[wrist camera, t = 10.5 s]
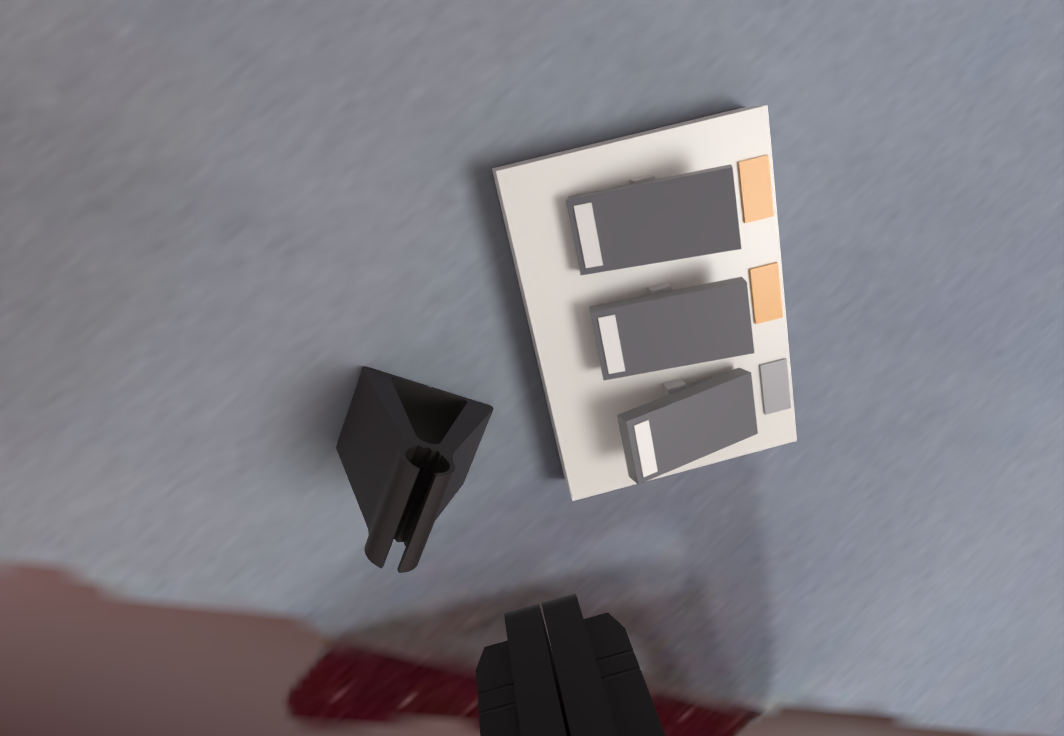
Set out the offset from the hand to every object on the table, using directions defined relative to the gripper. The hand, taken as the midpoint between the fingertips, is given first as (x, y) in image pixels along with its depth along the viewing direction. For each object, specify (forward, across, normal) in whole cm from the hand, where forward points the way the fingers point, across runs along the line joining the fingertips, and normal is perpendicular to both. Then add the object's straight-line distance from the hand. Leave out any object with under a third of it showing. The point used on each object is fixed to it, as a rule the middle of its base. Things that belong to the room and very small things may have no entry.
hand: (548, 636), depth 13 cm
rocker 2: (+26, -11, +4) cm, 29 cm away
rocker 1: (+26, -11, -2) cm, 29 cm away
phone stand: (+31, +6, +8) cm, 33 cm away
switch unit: (+31, -11, +4) cm, 33 cm away
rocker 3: (+26, -11, +10) cm, 31 cm away
